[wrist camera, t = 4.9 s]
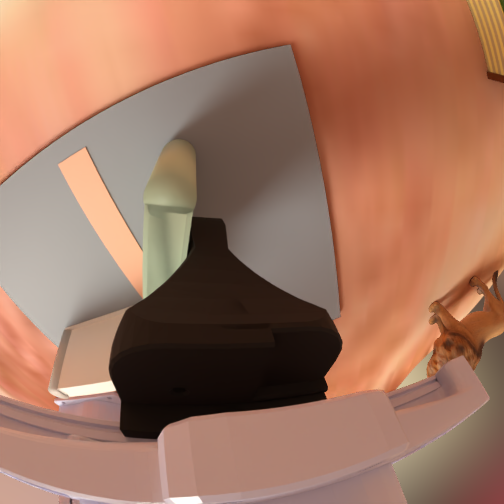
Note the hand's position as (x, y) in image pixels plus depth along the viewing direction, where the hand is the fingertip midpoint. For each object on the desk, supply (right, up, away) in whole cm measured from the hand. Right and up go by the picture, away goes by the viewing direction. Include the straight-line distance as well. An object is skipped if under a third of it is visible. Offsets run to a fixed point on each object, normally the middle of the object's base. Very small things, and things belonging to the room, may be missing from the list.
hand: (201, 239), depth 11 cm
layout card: (-4, -2, +3) cm, 5 cm away
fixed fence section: (-7, -5, +4) cm, 9 cm away
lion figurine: (+23, -6, +13) cm, 27 cm away
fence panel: (-2, 0, +1) cm, 2 cm away
